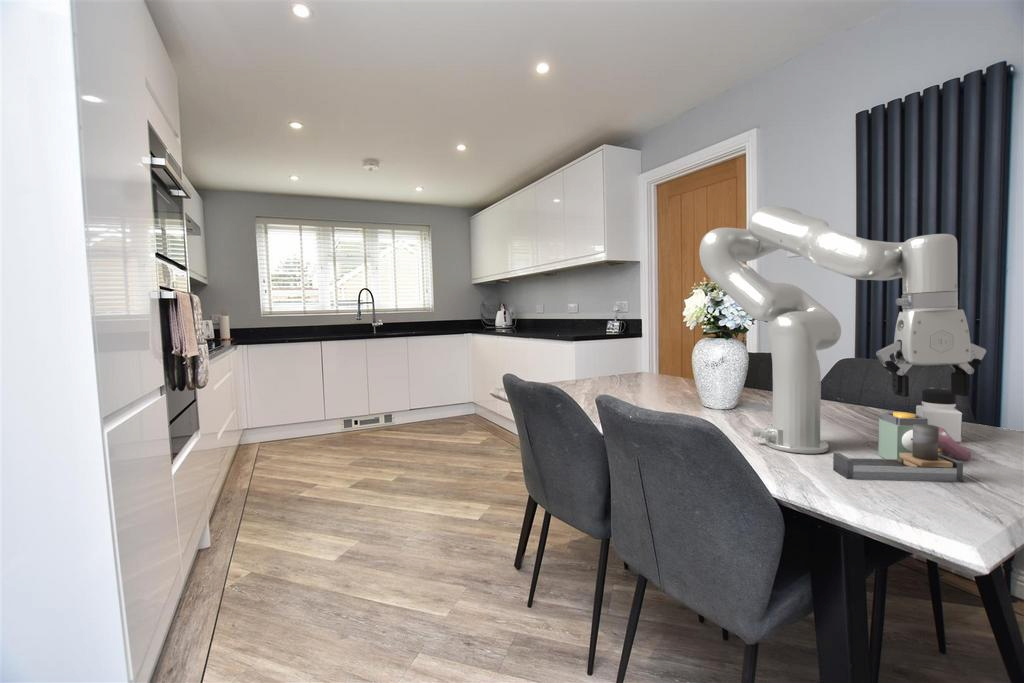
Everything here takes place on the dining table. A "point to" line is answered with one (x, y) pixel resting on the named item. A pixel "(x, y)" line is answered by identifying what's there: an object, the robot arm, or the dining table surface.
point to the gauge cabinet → (896, 435)
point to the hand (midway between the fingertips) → (930, 395)
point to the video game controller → (951, 446)
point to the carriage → (925, 448)
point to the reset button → (904, 415)
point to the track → (895, 469)
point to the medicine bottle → (941, 411)
